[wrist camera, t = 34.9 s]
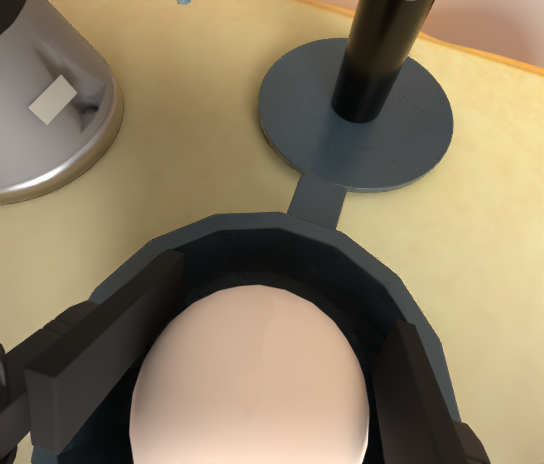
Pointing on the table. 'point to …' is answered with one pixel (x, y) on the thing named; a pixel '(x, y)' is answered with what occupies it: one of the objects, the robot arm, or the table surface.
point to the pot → (278, 274)
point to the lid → (359, 103)
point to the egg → (250, 385)
